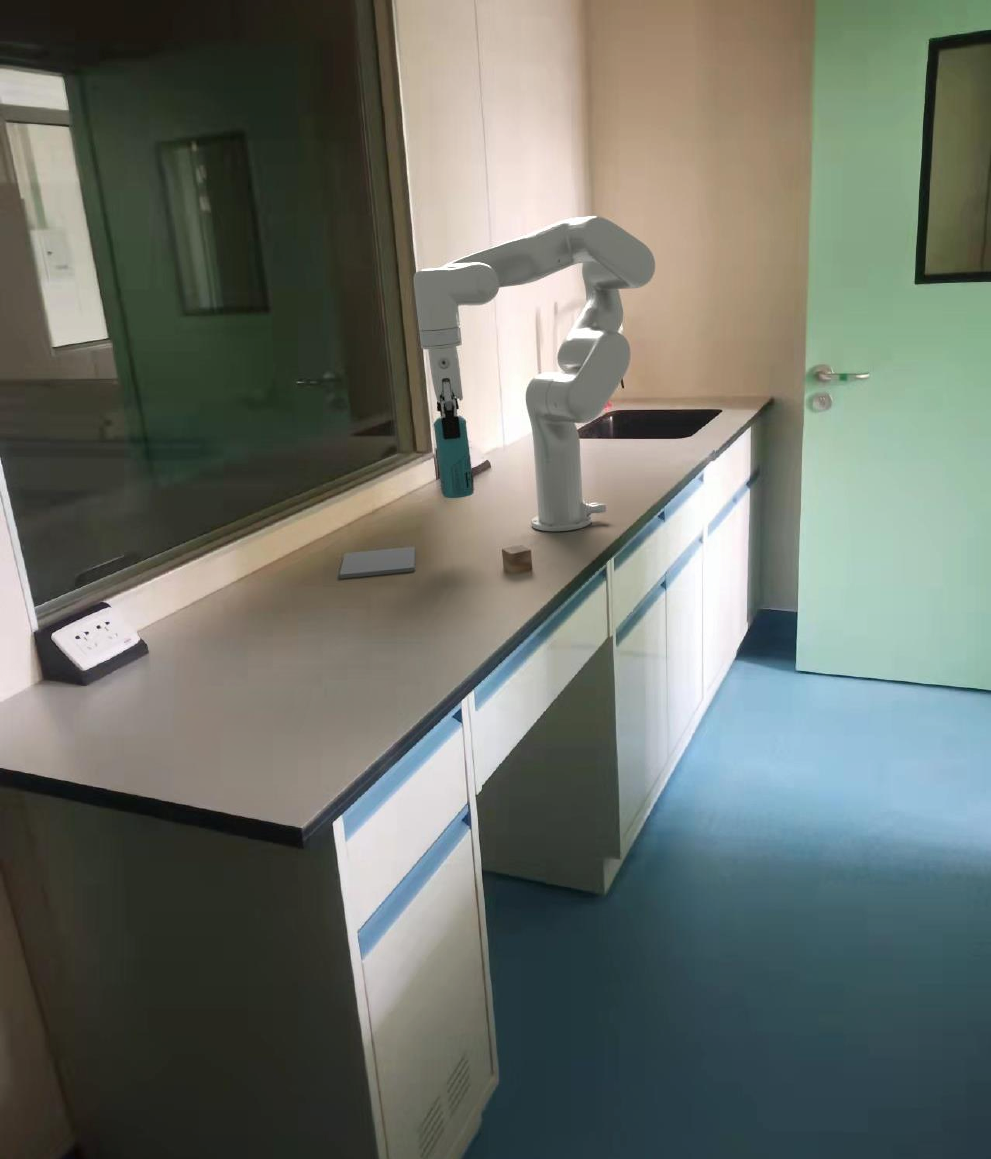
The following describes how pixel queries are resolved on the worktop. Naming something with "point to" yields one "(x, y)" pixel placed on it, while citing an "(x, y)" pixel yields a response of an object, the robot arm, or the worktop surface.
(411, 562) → the rubber mat
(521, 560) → the walnut block
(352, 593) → the worktop surface
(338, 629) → the worktop surface
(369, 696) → the worktop surface
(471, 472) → the beverage bottle
